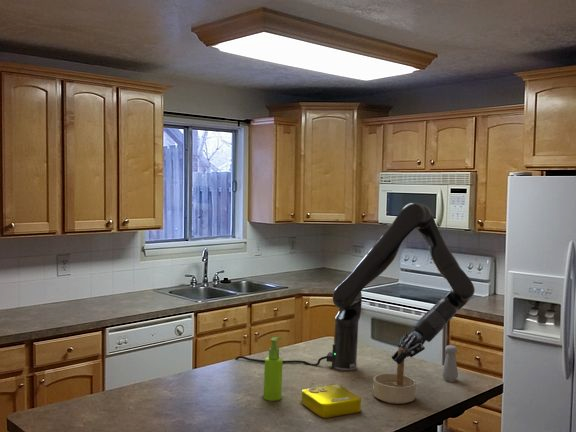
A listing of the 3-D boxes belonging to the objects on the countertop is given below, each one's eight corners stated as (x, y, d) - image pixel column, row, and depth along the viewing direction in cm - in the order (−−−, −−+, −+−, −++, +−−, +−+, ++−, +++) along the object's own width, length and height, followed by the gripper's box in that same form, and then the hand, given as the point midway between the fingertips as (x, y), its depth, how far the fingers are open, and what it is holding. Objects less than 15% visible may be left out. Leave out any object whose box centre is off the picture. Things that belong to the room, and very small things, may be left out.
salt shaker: (456, 378, 223) (458, 344, 223) (459, 383, 218) (461, 348, 217) (440, 377, 224) (442, 343, 223) (443, 382, 218) (444, 347, 217)
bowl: (370, 402, 195) (371, 384, 195) (374, 388, 209) (375, 371, 208) (414, 407, 192) (415, 389, 191) (415, 392, 205) (416, 376, 205)
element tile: (322, 419, 179) (323, 403, 179) (299, 402, 192) (299, 387, 192) (363, 412, 186) (363, 397, 186) (337, 395, 199) (338, 382, 199)
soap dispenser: (284, 395, 198) (286, 336, 197) (277, 401, 192) (279, 341, 191) (268, 392, 200) (270, 334, 199) (260, 399, 194) (263, 339, 193)
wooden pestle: (392, 393, 198) (394, 349, 197) (393, 389, 202) (395, 346, 201) (405, 395, 197) (407, 351, 196) (406, 390, 201) (408, 347, 200)
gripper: (415, 312, 206) (380, 347, 205) (432, 322, 193) (395, 359, 191) (428, 327, 208) (394, 362, 206) (446, 337, 194) (410, 375, 192)
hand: (395, 360), depth 199 cm, fingers closed on wooden pestle, 2 cm apart
